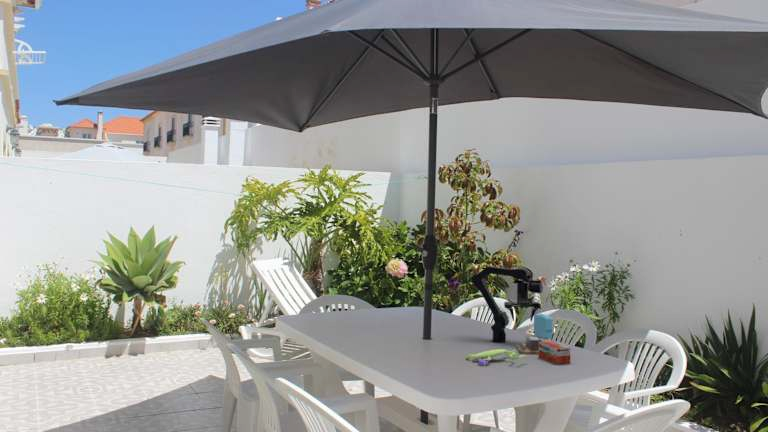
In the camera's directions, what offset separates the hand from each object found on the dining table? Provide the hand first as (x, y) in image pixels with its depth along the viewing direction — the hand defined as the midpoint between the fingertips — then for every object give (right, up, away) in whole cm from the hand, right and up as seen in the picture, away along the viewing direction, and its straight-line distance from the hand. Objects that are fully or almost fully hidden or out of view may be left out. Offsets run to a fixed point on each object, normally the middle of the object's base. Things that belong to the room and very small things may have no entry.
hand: (522, 321), depth 354 cm
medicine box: (+7, -13, -38) cm, 41 cm away
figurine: (-20, -13, -41) cm, 47 cm away
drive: (+2, -11, -17) cm, 20 cm away
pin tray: (+2, -12, -17) cm, 21 cm away
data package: (+16, -12, +20) cm, 28 cm away
